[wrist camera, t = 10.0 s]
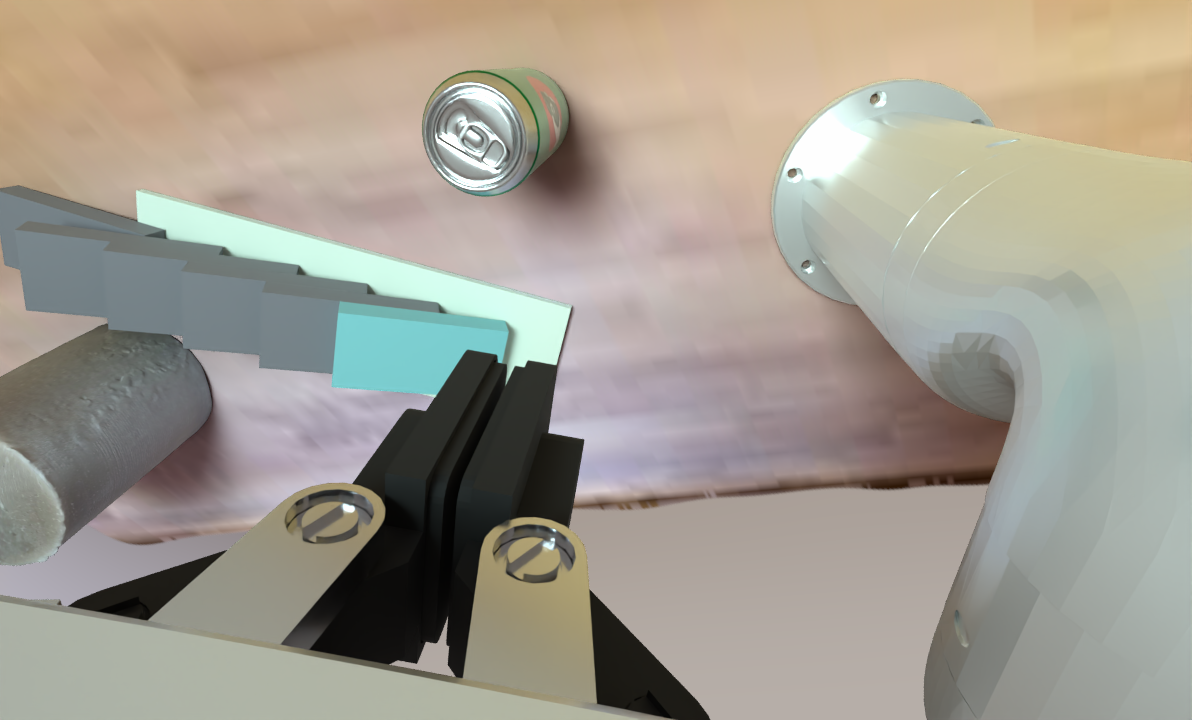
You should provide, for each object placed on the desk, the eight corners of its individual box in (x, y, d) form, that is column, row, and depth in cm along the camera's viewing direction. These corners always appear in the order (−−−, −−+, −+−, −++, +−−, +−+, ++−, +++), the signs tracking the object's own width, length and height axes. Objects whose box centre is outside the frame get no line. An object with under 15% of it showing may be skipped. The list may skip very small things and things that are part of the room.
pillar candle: (60, 377, 47) (-174, 508, 34) (120, 291, 44) (-113, 399, 30) (175, 460, 50) (0, 612, 36) (241, 385, 47) (74, 522, 33)
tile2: (439, 313, 40) (261, 292, 37) (428, 381, 43) (259, 367, 39) (437, 302, 42) (266, 281, 38) (427, 369, 44) (263, 355, 40)
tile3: (367, 293, 40) (181, 271, 37) (359, 363, 42) (183, 348, 39) (367, 283, 42) (188, 261, 38) (360, 351, 44) (189, 336, 40)
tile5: (218, 255, 40) (14, 229, 36) (218, 327, 42) (26, 310, 38) (223, 246, 41) (27, 220, 38) (223, 316, 43) (37, 299, 40)
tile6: (144, 235, 40) (-7, 189, 40) (148, 309, 42) (4, 265, 42) (164, 229, 41) (18, 185, 41) (167, 301, 43) (27, 258, 44)
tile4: (296, 274, 40) (102, 250, 37) (292, 345, 42) (108, 329, 39) (298, 265, 41) (111, 241, 38) (294, 334, 44) (117, 317, 40)
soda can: (514, 47, 36) (454, 41, 25) (587, 106, 37) (560, 126, 26) (466, 124, 38) (391, 151, 27) (537, 179, 39) (492, 225, 28)
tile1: (508, 331, 41) (338, 312, 37) (494, 399, 43) (331, 387, 39) (505, 320, 42) (339, 301, 38) (490, 386, 44) (333, 373, 41)
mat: (571, 305, 42) (570, 308, 41) (542, 421, 46) (540, 425, 45) (143, 188, 41) (136, 190, 40) (149, 317, 45) (143, 320, 44)
